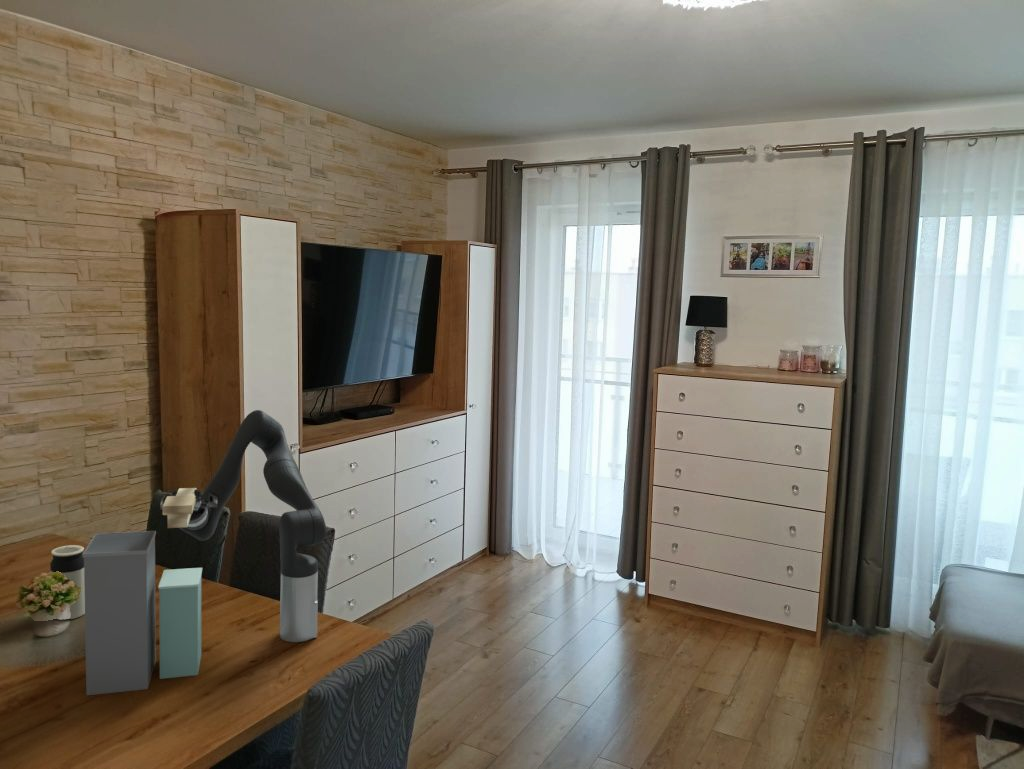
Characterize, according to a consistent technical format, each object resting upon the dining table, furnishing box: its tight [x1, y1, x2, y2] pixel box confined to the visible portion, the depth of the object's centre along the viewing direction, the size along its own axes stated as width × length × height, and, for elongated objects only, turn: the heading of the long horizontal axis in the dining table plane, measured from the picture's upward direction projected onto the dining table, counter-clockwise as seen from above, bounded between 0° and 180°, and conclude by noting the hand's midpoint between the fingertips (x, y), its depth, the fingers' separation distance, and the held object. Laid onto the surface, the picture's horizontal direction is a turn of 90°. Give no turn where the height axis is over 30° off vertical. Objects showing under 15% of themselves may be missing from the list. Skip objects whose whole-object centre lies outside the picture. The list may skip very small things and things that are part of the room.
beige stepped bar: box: [162, 487, 198, 529], centre depth 176 cm, size 6×22×5 cm, turn 18°
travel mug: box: [49, 544, 85, 620], centre depth 198 cm, size 8×8×18 cm
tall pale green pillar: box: [157, 567, 203, 680], centre depth 175 cm, size 8×10×22 cm
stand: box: [82, 530, 157, 696], centre depth 168 cm, size 12×13×32 cm
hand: (185, 494), depth 181 cm, fingers closed on beige stepped bar, 4 cm apart
